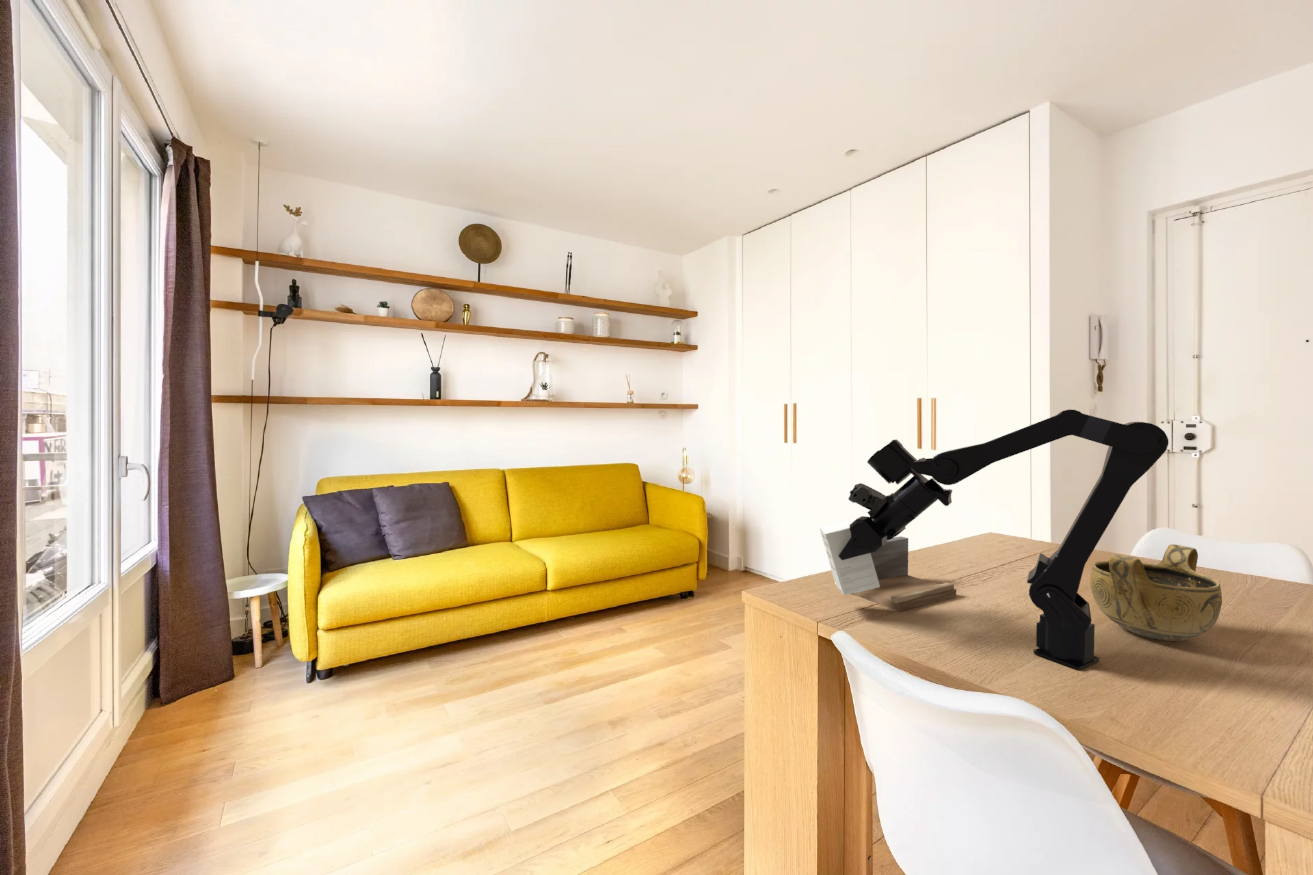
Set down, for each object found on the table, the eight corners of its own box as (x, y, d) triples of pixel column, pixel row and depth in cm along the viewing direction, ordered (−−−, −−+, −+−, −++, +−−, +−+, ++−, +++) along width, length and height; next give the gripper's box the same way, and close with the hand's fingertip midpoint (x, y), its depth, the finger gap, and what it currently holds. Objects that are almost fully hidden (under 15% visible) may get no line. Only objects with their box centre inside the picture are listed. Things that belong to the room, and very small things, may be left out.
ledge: (959, 595, 113) (959, 549, 112) (896, 612, 104) (896, 562, 103) (900, 577, 126) (900, 536, 125) (839, 590, 117) (840, 546, 116)
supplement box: (871, 577, 107) (854, 517, 108) (881, 588, 100) (863, 523, 100) (835, 585, 108) (818, 526, 109) (842, 596, 101) (824, 533, 101)
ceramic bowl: (1181, 666, 81) (1184, 570, 80) (1059, 626, 96) (1061, 545, 96) (1247, 640, 90) (1250, 553, 89) (1126, 607, 105) (1128, 533, 105)
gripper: (888, 466, 108) (835, 514, 115) (861, 475, 93) (802, 529, 100) (930, 507, 103) (873, 555, 111) (909, 523, 89) (843, 577, 96)
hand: (848, 552), depth 104 cm, fingers closed on supplement box, 9 cm apart
